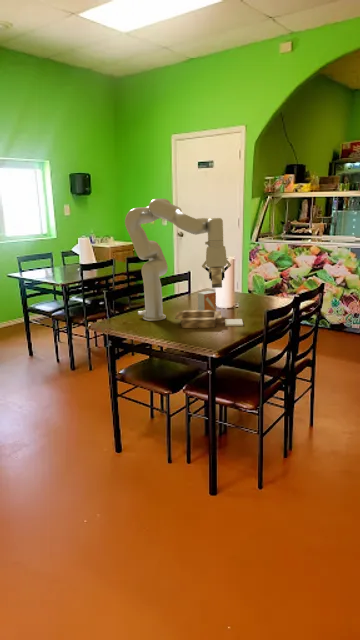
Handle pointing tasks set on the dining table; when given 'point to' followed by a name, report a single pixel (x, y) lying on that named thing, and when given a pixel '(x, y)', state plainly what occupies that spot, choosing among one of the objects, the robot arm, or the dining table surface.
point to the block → (216, 277)
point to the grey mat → (233, 322)
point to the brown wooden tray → (198, 318)
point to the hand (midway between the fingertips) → (216, 279)
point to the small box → (207, 300)
